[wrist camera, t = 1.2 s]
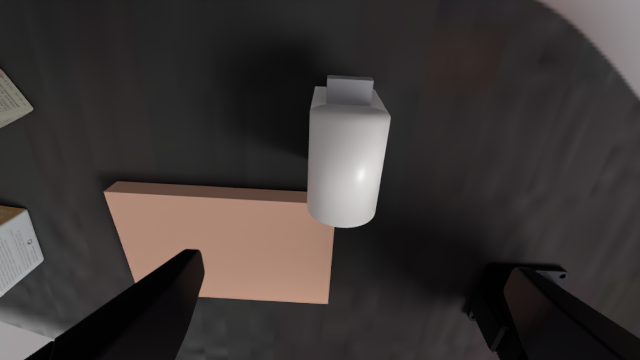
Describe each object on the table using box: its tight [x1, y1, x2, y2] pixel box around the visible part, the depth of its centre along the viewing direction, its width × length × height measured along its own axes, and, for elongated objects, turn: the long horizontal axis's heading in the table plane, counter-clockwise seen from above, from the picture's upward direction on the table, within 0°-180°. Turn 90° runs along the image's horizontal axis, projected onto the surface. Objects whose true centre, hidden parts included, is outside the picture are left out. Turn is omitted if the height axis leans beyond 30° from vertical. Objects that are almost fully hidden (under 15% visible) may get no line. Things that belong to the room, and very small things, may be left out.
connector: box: [307, 75, 391, 228], centre depth 16 cm, size 4×6×7 cm, turn 178°
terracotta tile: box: [104, 181, 334, 304], centre depth 24 cm, size 16×10×2 cm, turn 87°
